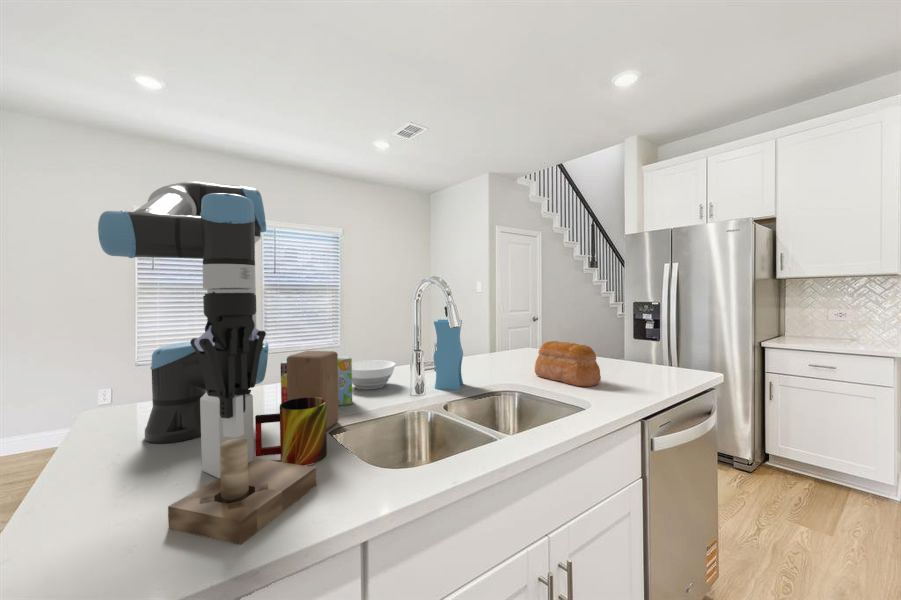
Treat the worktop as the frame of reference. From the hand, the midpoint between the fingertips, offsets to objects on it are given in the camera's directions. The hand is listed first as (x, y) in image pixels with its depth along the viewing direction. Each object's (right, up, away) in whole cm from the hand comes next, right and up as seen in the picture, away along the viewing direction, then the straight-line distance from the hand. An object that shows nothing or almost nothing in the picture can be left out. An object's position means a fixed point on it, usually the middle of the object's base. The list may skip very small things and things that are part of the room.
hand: (233, 435), depth 65 cm
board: (+1, -13, +3) cm, 14 cm away
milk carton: (-11, -13, +17) cm, 24 cm away
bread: (+82, -10, +94) cm, 126 cm away
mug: (+1, -13, +22) cm, 25 cm away
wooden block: (-1, -12, +42) cm, 43 cm away
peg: (0, -13, +1) cm, 13 cm away
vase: (+35, -11, +85) cm, 92 cm away
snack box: (-7, -12, +61) cm, 63 cm away
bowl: (+5, -11, +86) cm, 87 cm away
